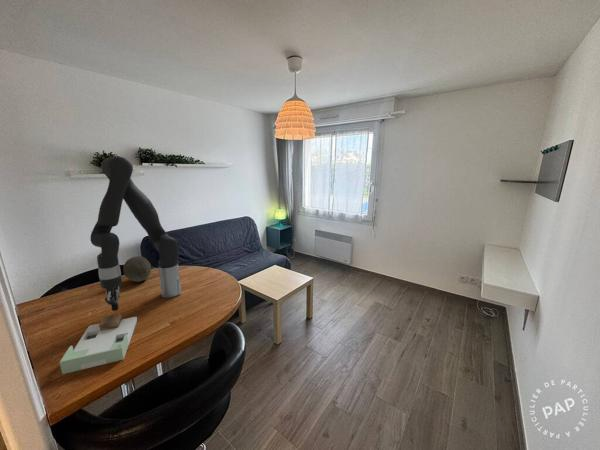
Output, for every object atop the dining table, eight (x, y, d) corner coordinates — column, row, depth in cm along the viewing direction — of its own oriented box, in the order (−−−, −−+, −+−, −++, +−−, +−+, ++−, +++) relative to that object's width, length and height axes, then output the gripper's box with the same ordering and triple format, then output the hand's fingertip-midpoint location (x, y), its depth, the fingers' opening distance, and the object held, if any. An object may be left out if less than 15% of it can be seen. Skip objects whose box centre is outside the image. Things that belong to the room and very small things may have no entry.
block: (121, 319, 104) (120, 313, 104) (118, 327, 99) (117, 321, 98) (105, 322, 102) (103, 316, 101) (100, 331, 97) (99, 324, 96)
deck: (137, 320, 107) (135, 310, 106) (123, 359, 86) (121, 347, 85) (89, 329, 100) (87, 319, 99) (62, 374, 79) (59, 362, 78)
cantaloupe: (157, 275, 150) (154, 253, 146) (144, 286, 136) (140, 262, 132) (134, 275, 149) (131, 253, 145) (118, 286, 135) (114, 262, 131)
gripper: (116, 280, 99) (121, 316, 103) (124, 268, 111) (129, 300, 115) (93, 283, 96) (100, 319, 100) (104, 270, 108) (110, 303, 112)
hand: (115, 309), depth 108 cm, fingers closed
